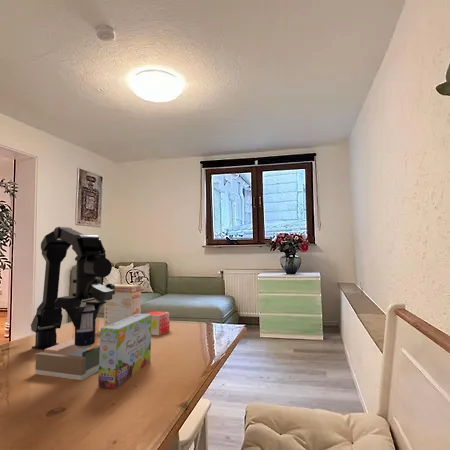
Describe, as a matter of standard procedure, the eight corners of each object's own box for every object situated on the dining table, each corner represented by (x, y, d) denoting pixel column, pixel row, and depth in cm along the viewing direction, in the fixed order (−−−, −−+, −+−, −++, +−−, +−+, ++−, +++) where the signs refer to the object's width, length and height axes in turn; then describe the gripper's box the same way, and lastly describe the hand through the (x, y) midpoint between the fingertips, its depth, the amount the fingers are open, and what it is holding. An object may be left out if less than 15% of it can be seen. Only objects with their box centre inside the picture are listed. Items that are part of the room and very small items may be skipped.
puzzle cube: (143, 333, 141) (143, 314, 142) (153, 329, 148) (154, 311, 149) (159, 335, 138) (159, 315, 139) (169, 331, 145) (169, 312, 146)
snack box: (117, 389, 85) (118, 328, 86) (97, 388, 86) (98, 327, 87) (152, 362, 105) (152, 313, 106) (135, 361, 107) (136, 312, 108)
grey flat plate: (81, 370, 94) (82, 352, 95) (108, 357, 106) (109, 341, 106) (84, 371, 94) (85, 352, 95) (111, 357, 106) (111, 341, 106)
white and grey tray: (35, 373, 96) (35, 353, 96) (80, 354, 113) (80, 337, 113) (81, 380, 91) (81, 358, 91) (121, 359, 108) (121, 341, 108)
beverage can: (98, 344, 103) (99, 305, 104) (83, 350, 98) (85, 308, 99) (85, 342, 106) (86, 304, 106) (70, 347, 101) (71, 306, 101)
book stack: (43, 367, 98) (43, 349, 98) (75, 353, 110) (76, 338, 110) (55, 368, 96) (56, 350, 97) (87, 355, 109) (87, 339, 109)
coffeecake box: (141, 329, 149) (141, 284, 150) (130, 332, 142) (131, 286, 144) (114, 326, 155) (115, 283, 156) (103, 329, 148) (104, 284, 150)
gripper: (86, 279, 92) (85, 337, 91) (126, 274, 110) (125, 322, 109) (54, 278, 95) (52, 334, 94) (98, 273, 113) (97, 320, 112)
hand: (85, 327), depth 102 cm, fingers closed on beverage can, 6 cm apart
